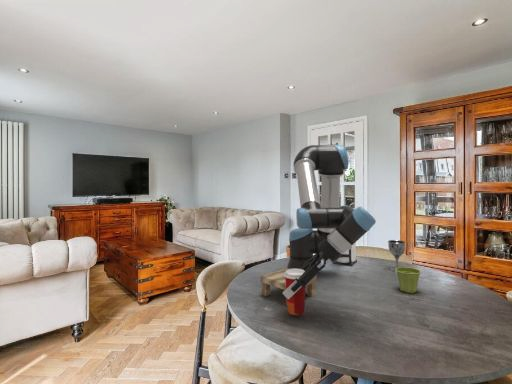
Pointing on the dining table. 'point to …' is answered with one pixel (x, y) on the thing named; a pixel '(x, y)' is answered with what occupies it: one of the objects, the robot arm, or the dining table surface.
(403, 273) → the plant pot
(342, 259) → the coffee press
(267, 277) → the wooden step stool
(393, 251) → the wine glass
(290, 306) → the paper cup
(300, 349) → the dining table surface
